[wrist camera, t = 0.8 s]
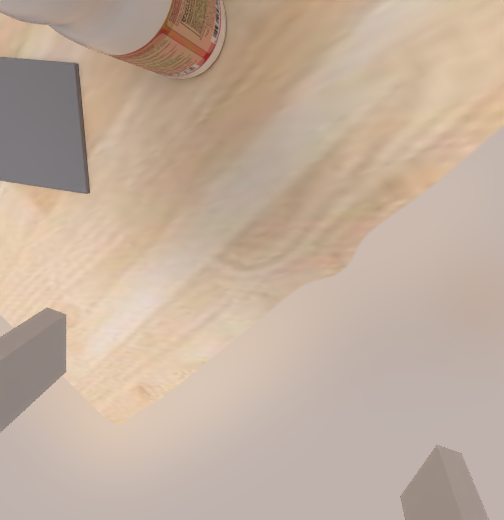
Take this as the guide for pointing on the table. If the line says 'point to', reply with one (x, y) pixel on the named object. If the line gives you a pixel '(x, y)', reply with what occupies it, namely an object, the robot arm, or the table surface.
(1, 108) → the charcoal mat
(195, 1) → the fruit juice
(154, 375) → the table surface
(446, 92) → the table surface
